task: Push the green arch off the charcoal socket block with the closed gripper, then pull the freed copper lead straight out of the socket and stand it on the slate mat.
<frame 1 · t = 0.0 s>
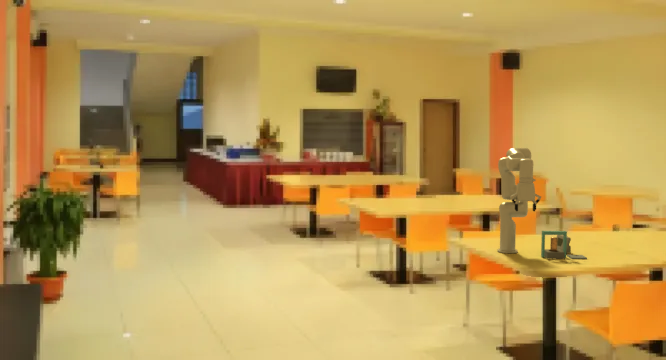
hand: (525, 211, 392), 31 cm above the table, fingers open, 9 cm apart
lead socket: (553, 257, 420), on the table
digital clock: (561, 252, 438), on the table
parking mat: (576, 257, 419), on the table
green arch: (553, 244, 419), point 8 cm above the table, slide at 0.0 cm
copper lead: (553, 247, 419), in the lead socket
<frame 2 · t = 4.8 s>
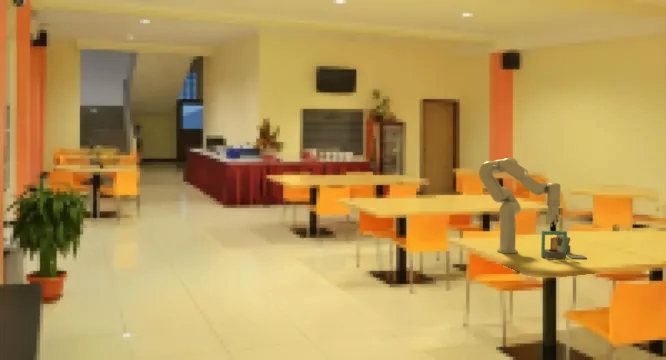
hand: (552, 233, 422), 14 cm above the table, fingers closed
green arch: (554, 244, 419), point 8 cm above the table, slide at 0.2 cm, touching gripper
everything else where it was.
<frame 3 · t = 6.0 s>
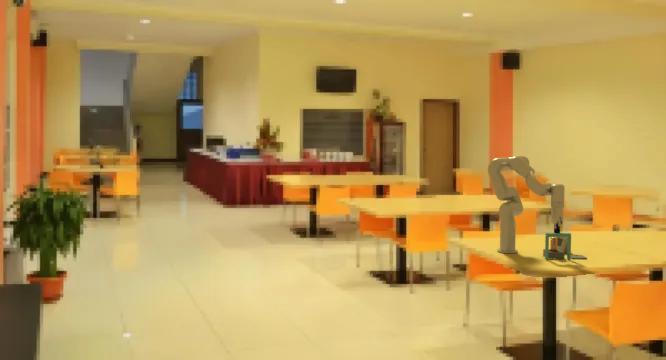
hand: (556, 235, 413), 14 cm above the table, fingers closed
green arch: (558, 246, 410), point 8 cm above the table, slide at 8.7 cm, touching gripper
everything else where it was.
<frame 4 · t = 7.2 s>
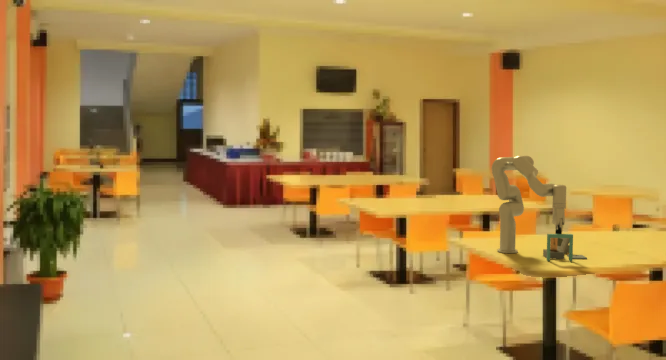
hand: (558, 236, 410), 14 cm above the table, fingers closed
green arch: (559, 247, 407), point 8 cm above the table, slide at 12.4 cm, touching gripper
everything else where it was.
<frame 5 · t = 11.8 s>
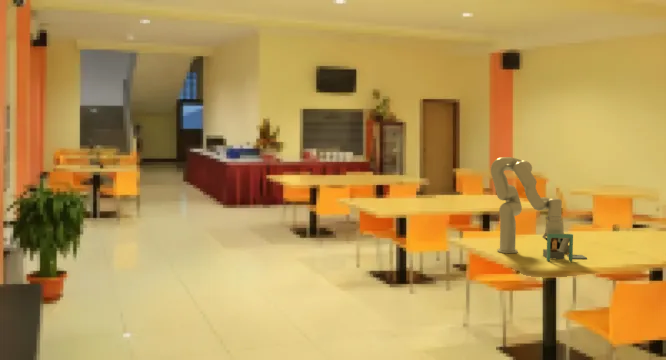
hand: (553, 248, 419), 5 cm above the table, fingers closed on copper lead, 4 cm apart
green arch: (559, 247, 407), point 8 cm above the table, slide at 12.4 cm
copper lead: (553, 247, 419), in the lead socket, touching gripper
everything else where it was.
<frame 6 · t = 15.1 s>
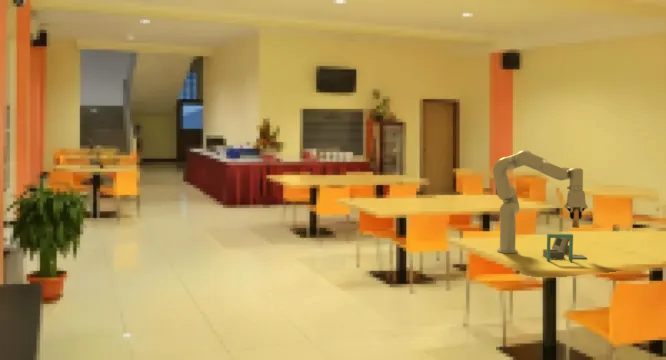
hand: (575, 218, 417), 24 cm above the table, fingers closed on copper lead, 4 cm apart
copper lead: (575, 217, 417), point 24 cm above the table, touching gripper
everything else where it was.
when the fingers open (8 cm above the table, at t = 18.6 s): copper lead drops 2 cm, resting on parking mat.
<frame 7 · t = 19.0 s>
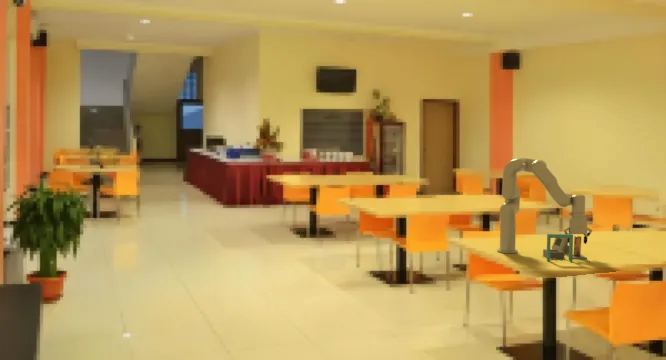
hand: (577, 243, 419), 9 cm above the table, fingers open, 8 cm apart
copper lead: (577, 246, 419), on the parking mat, point 7 cm above the table
everything else where it was.
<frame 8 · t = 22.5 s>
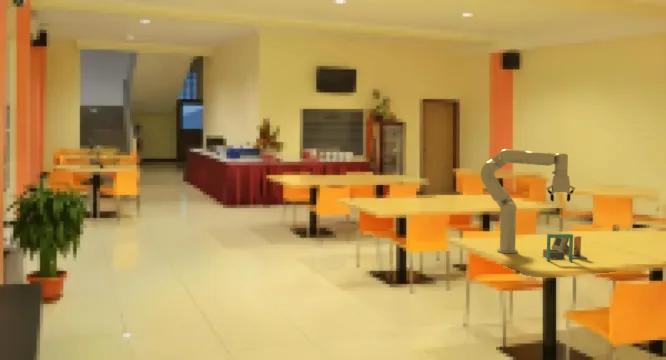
hand: (560, 201, 427), 33 cm above the table, fingers open, 9 cm apart
nothing on the table moved.
at the end: green arch slide at 12.4 cm; copper lead inside the target area on the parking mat (0.0 cm from its centre), point 6.8 cm above the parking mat's base; copper lead tilted 0° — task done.
